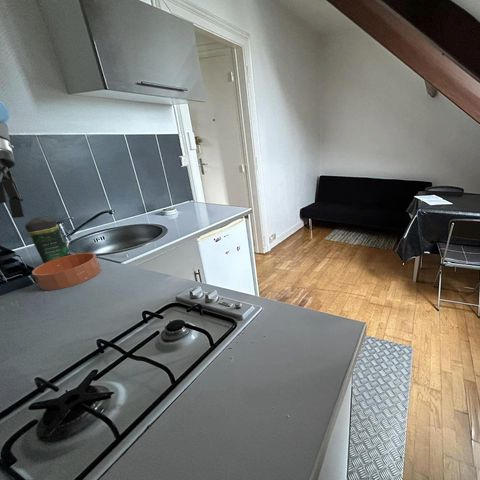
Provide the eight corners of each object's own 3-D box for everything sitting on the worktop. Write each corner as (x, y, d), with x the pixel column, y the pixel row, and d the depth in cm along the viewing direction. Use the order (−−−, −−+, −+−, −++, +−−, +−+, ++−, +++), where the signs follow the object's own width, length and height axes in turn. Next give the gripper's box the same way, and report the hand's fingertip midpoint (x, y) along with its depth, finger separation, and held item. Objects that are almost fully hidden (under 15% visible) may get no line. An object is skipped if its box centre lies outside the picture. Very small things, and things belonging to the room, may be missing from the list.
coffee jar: (74, 264, 99) (51, 218, 92) (45, 272, 94) (19, 223, 87) (74, 256, 106) (54, 213, 99) (48, 263, 101) (24, 218, 94)
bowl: (31, 296, 80) (22, 280, 77) (49, 274, 93) (42, 260, 90) (96, 279, 87) (90, 265, 85) (104, 261, 100) (99, 248, 97)
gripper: (-5, 132, 83) (9, 194, 81) (26, 170, 103) (38, 220, 101) (-42, 132, 79) (-29, 196, 77) (-2, 171, 99) (10, 223, 97)
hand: (9, 210), depth 89 cm, fingers open, 13 cm apart
